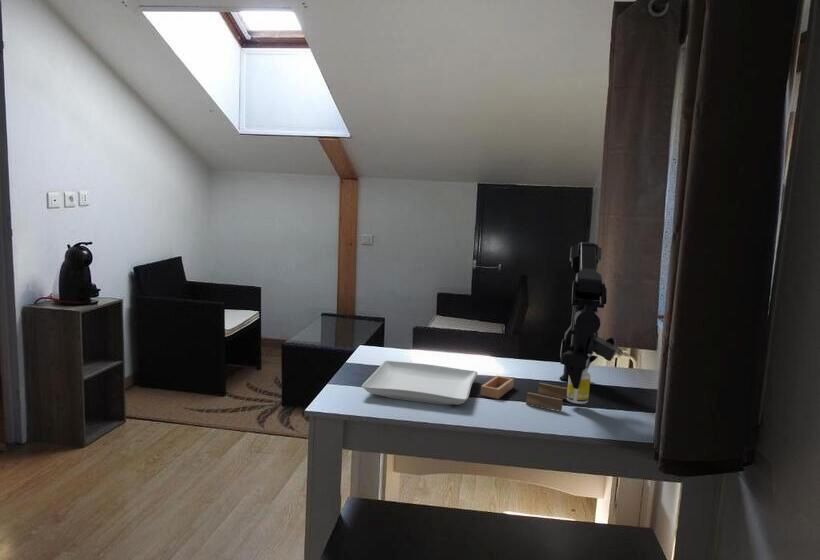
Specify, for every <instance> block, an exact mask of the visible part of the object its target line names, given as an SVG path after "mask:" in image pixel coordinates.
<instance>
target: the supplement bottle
mask: <svg viewBox="0 0 820 560" xmlns="http://www.w3.org/2000/svg"><path fill="white" fill-rule="evenodd" d="M589 369H590V366H589V367H588V368H586V369H585V370H583V374H582V377H581V381H580V384H579V388H578V389H575V388H573V385H572V382H571V379H570V376H569V378H568V381H567V388H568V389H567V400H566V401H568V402H570V403H573V404H576V405H577V404H579V405H585V404H587V403H588V402H589V396H590V385H591V374H590V373H589V372H588V371H589Z"/></svg>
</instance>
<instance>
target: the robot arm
mask: <svg viewBox="0 0 820 560" xmlns="http://www.w3.org/2000/svg"><path fill="white" fill-rule="evenodd" d="M602 251H603V249H602V247H600V246H599V245H598V243H596V242H585V241H582V242H578V244H574V245H572V246H571V247H570V253H569V262H571V269H572V271H573V273H574V275H575V280H573V281H572V287H571V288H572V289H571V306H572V315H571V321H570V322H571V324H570V326H568V329H566V331H565V332H564V339H563V338H562V339H561V345H560V354H559V357H560V364H561V365H563V374H562V375H561V376H560V377H559V380H560V379H563V380H562V381H565V380H568V378H569V376H570V379H571V382H572V385H573V388H575V389H578V388H579V384H580V381H581V377H582V374H583V370H585V369H586V368H588V367H589V368H590V366H591V363H594V361H596V360H597V359H598V356H601V357H602V358H604V360H606V361H608V362H611V361H612V360H613V359H614V357H615V356H616V354H617V351H618V349H619V345H618V344H617V339H616V338H615V337H612V336H610V337H608V338H606V339H605V338H602V337H600V336H599V330H600V328H601V319H600V316H599V314H598V312H599V309H604V308H605V305H606V304H607V297H608V296H607V289H608V288H607V287H606V284H605V282H603V277H602V274H601V273H599V272H598V271H597V270H598V264H601V262H602ZM598 308H599V309H598ZM594 353H595V355H594ZM589 368H588V369H589Z"/></svg>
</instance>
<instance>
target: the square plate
mask: <svg viewBox="0 0 820 560" xmlns="http://www.w3.org/2000/svg"><path fill="white" fill-rule="evenodd" d="M477 376H478V372H477V371H475V370H469V369H463V368H456V367H448V366H443V365H442V366H441V365H434V364H427V363H416V362H407V361H397V360H395V361H393V360H385V361H384V362H382V364H381V365H380V366H379V367H378V368H377V369H376V370H374V372H373V373H372V374H371V375H370V376H369V377H368V378H367V379H366V381H364V383H363V384H362V385H361V387H362V388H363V389H364V390H365V392H368V393H370V394H372V395H375V396H376V395H377V396H383V397H384V396H385V397H384V398H389V399H395V400H403V401H405V400H406V401H411V402H412V401H413V402H419V403H420V402H421V403H426V404H428V403H429V404H435V405H436V404H437V405H456V406H457V405H458V406H459V405H461V404H464V403H465V402H466V401H467V400H468V399H469V396H470V393H471V388H472V386H473V384H474V381H475V379H476V378H477Z"/></svg>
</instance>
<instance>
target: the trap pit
mask: <svg viewBox="0 0 820 560" xmlns="http://www.w3.org/2000/svg"><path fill="white" fill-rule="evenodd" d="M514 382H515V378H512V377H506V376H503V375H502V376H501V375H496V376H494V377H492V378H491V379H489V380H488V381H487V382H485V383H484V384H482V385H480V396H483V397H487V398H492V399H497V400H499V399H500V398H501V397H503V396H504V395H506V394H507V393H508V392H509V391H511V390H512V389H513V388H514Z"/></svg>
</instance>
